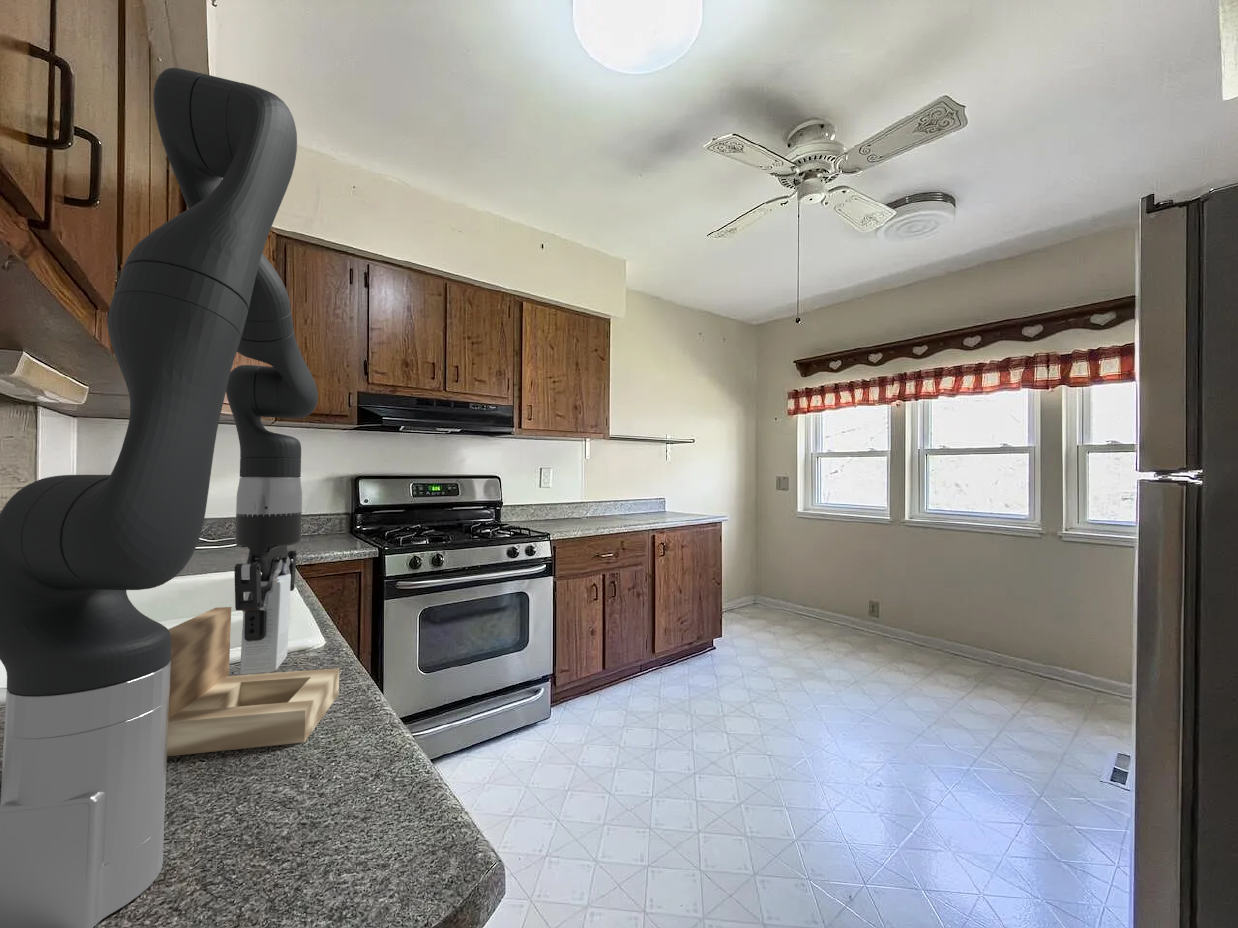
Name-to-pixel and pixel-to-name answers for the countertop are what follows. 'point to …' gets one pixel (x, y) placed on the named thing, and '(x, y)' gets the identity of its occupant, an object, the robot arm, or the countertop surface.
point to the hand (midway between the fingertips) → (266, 631)
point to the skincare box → (269, 632)
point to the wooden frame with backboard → (236, 694)
